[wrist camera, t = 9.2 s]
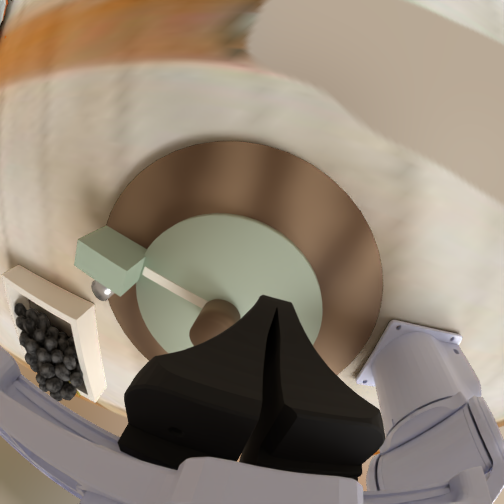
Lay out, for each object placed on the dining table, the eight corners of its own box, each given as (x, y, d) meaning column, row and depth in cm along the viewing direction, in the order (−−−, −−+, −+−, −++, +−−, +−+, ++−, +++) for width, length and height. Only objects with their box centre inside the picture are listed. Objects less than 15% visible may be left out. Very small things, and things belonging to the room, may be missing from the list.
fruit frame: (94, 304, 27) (76, 320, 24) (107, 386, 32) (95, 402, 29) (18, 264, 28) (1, 274, 25) (37, 344, 33) (24, 356, 30)
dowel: (140, 259, 24) (108, 284, 19) (140, 276, 24) (109, 303, 20) (124, 253, 24) (90, 277, 19) (124, 270, 25) (92, 296, 20)
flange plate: (360, 275, 19) (371, 301, 16) (264, 394, 25) (259, 424, 21) (127, 154, 19) (96, 158, 15) (92, 300, 24) (69, 319, 21)
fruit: (-15, 333, 22) (60, 420, 23) (-1, 292, 21) (83, 391, 23) (20, 316, 30) (86, 389, 32) (39, 279, 30) (111, 358, 32)
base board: (423, 197, 18) (462, 215, 13) (316, 413, 27) (316, 455, 22) (119, 122, 20) (71, 119, 14) (112, 349, 29) (86, 381, 23)
